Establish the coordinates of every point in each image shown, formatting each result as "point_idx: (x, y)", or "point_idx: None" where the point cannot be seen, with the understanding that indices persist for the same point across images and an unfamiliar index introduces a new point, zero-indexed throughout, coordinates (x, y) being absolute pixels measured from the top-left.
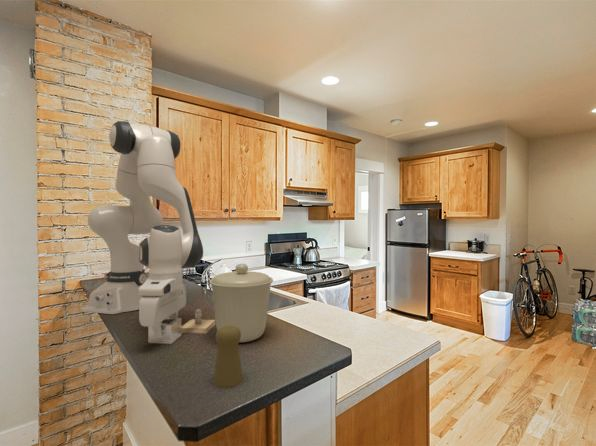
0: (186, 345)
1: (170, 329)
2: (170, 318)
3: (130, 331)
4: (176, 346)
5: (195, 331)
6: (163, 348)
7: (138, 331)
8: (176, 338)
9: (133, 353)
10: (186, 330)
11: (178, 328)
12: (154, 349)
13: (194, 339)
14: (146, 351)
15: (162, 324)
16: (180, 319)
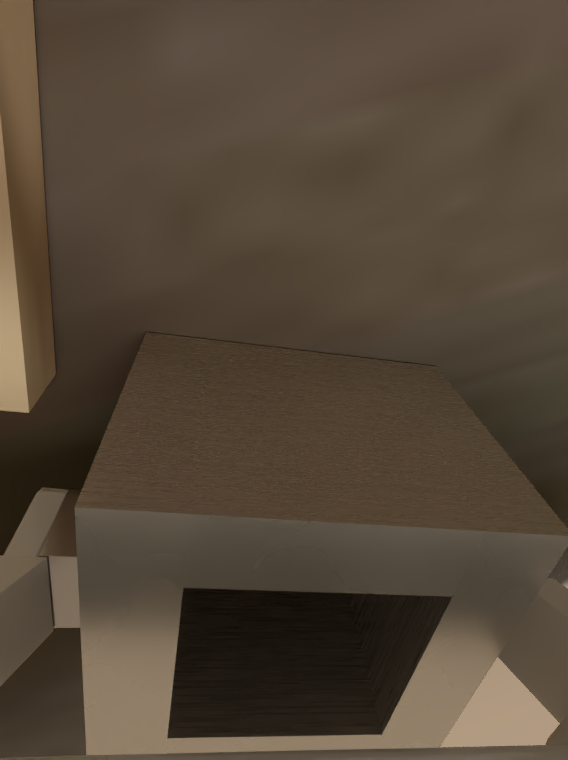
0: (552, 152)
1: (520, 490)
2: (127, 663)
3: (76, 744)
4: (538, 281)
5: (26, 126)
6: (545, 400)
7: (68, 708)
8: (298, 355)
9: (563, 572)
10: (37, 298)
11: (243, 410)
12: (539, 467)
13: (336, 73)
14: (560, 508)
15: (470, 655)
16: (137, 498)
